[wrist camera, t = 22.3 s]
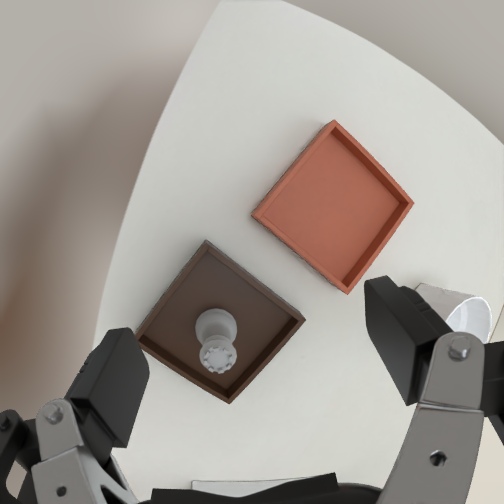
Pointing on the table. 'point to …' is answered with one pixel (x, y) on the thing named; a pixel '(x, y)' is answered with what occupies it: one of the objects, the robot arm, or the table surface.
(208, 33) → the table surface
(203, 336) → the rook chess piece
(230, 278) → the walnut tray
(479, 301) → the cup
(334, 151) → the terracotta tray
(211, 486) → the white box
